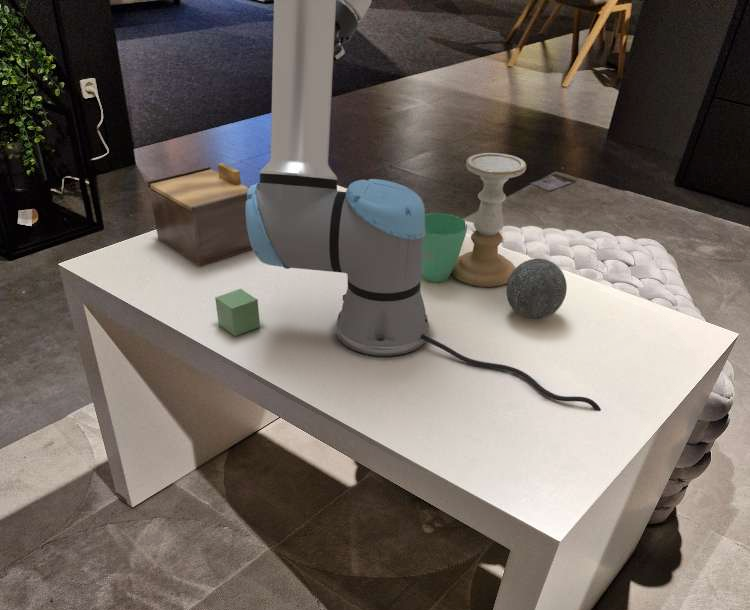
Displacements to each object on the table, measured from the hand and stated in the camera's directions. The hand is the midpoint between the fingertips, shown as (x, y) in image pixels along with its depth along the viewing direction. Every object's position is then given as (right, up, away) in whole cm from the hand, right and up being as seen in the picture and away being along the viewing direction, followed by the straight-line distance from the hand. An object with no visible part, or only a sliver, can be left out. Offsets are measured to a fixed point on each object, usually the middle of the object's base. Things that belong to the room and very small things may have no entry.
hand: (277, 120), depth 144 cm
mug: (+29, -31, -4) cm, 43 cm away
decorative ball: (+46, -43, -16) cm, 65 cm away
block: (-4, -45, -21) cm, 50 cm away
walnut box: (-14, -23, +4) cm, 27 cm away
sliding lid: (-14, -15, -3) cm, 21 cm away
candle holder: (+39, -31, -4) cm, 50 cm away
